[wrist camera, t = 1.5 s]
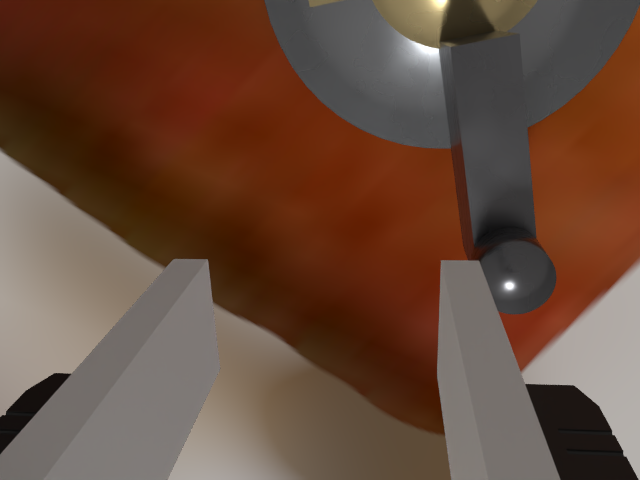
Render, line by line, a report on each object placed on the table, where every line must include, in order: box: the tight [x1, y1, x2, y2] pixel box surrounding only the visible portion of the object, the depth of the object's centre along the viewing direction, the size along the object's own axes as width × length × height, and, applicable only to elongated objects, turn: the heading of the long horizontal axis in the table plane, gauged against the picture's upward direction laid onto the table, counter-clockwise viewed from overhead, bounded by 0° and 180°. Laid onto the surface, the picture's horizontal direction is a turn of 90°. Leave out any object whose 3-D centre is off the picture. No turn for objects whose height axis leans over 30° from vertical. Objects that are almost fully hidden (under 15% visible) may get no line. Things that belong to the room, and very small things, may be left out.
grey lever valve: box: [309, 0, 556, 314], centre depth 23 cm, size 18×13×8 cm
